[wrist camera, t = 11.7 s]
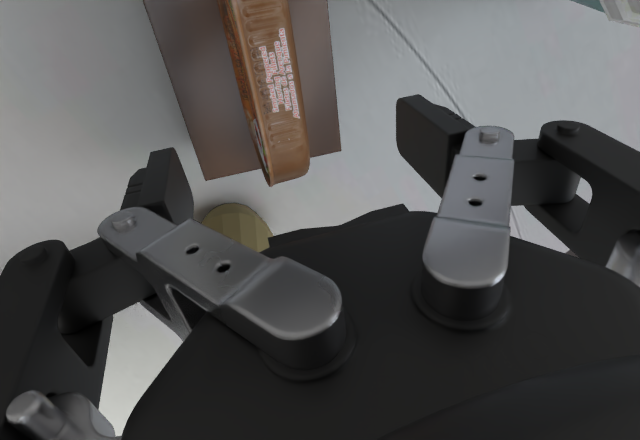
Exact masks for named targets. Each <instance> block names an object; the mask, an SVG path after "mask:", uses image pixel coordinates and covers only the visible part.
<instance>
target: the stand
mask: <svg viewBox="0 0 640 440" xmlns="http://www.w3.org/2000/svg"><path fill="white" fill-rule="evenodd" d="M143 2H144V5H145V8H146V11H147V14H148V17H149V20H150V22H151V25H152V28H153V31H154V34H155V37H156V40H157V43H158V46H159V48H160V51H161V54H162V57H163V60H164V63H165V66H166V69H167V72H168V74H169V77H170V80H171V83H172V86H173V89H174V92H175V95H176V97H177V100H178V103H179V106H180V109H181V112H182V115H183V118H184V121H185V123H186V126H187V129H188V132H189V135H190V138H191V141H192V144H193V147H194V149H195V152H196V155H197V158H198V161H199V164H200V167H201V170H202V172H203V175H204V178H205V180H206V181H207V180H211V179H216V178H220V177H225V176H230V175H234V174H239V173H243V172H248V171H252V170H257V169H261V165H260V163H259V160H258V157H257V154H256V151H255V147H254V144H253V141H252V138H251V134H250V131H249V127H248V124H247V119H246V116H245V112H244V109H243V105H242V101H241V97H240V93H239V89H238V85H237V81H236V77H235V72H234V68H233V64H232V60H231V56H230V51H229V48H228V44H227V39H226V35H225V31H224V27H223V23H222V19H221V15H220V11H219V6H218V3H217V0H143ZM288 4H289V10H290V17H291V23H292V29H293V36H294V42H295V48H296V55H297V62H298V69H299V75H300V82H301V89H302V96H303V102H304V110H305V117H306V125H307V131H308V140H309V152H310V158H311V157H316V156H320V155H325V154H329V153H334V152H338V151H341V142H340V131H339V121H338V110H337V99H336V89H335V78H334V67H333V57H332V46H331V35H330V25H329V14H328V3H327V0H288Z"/></svg>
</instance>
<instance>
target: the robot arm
mask: <svg viewBox="0 0 640 440" xmlns="http://www.w3.org/2000/svg"><path fill="white" fill-rule="evenodd" d="M396 141H397V147H398V150H399V153H400V154H401V156H402V157H403V158H404V159H405V160H406V161H407V162H408V163H409V164H410V165H411V166H412V167H413V168H414V170H415V171H416V172H417V173H418V174H419V175H420V176H421V177H422V178H423V179H424V180H425V181H426V182H427V183H428V184H429V185H430V186H431V187H432V189H433V190H434V191H435V192H436V193H437V194H438V195H439V196H440V197H441V198H442V200H441V203H440V207H439V210H438V213H434V212H425V211H410V212H409V211H408V209H407V208H406V207H405V205H404V204H399V205H395V206H391V207H387V208H383V209H379V210H375V211H371V212H369V213H367V214H364V215H362V216H360V217H358V218H356V219H353V220H351V221H349V222H347V223H344V224H342V225H339V226H331V227H319V228H308V229H300V230H296V231H292V232H288V233H284V234H280V235H276V236H272V237H268V243H269V248H267V249H265V250H263V251H261V252H257V251H255V250H253V249H251V248H249V247H247V246H245V245H243V244H241V243H239V242H237V241H235V240H233V239H231V238H229V237H227V236H225V235H223V234H221V233H219V232H217V231H215V230H213V229H211V228H209V227H207V226H205V225H203V224H201V223H199V222H197V221H195V220H193V210H194V201H193V196H192V192H191V189H190V186H189V183H188V181H187V178H186V175H185V173H184V170H183V168H182V165H181V162H180V160H179V157H178V155H177V152H176V150H175V149H174V148H173V147H171V148H167V149H162V150H158V151H153V152H151V153H150V156H149V160H148V164H147V168H142V169H139V170H138V171H137V172H136V173H135V174H134V175H133V176H132V177H131V178H130V180H129V184H128V188H127V190H126V193H125V194H126V195H125V196H124V199H123V203H122V206H121V209H120V211H118V212H116V213H114V214H112V215H110V216H109V217H107V218H106V219H105V220H104V221H102V223H101V224H100V225H99V227H98V234H99V236H100V237H99V238H98V239H96V240H94V241H92V242H89V243H87V244H85V245H82V246H80V247H77V248H75V249H73V250H70V251H69V250H68V248H67V247H66V245H65V244H64V243H63V242H62V241H60V240H47V241H43V242H39V243H36V244H34V245H32V246H29V247H27V248H25V249H24V250H22V251H20V252H19V253H18V254H16V255H15V256H14V257H13V258H11V259H10V261H9V262H8V263H7V264H6V266H5V268H4V270H3V272H2V273H1V275H0V440H640V152H639V151H637V150H635V149H633V148H631V147H629V146H627V145H625V144H623V143H621V142H619V141H617V140H615V139H614V138H612V137H610V136H608V135H606V134H604V133H602V132H600V131H598V130H596V129H594V128H592V127H590V126H588V125H586V124H583V123H580V122H575V121H552V122H548V123H546V124H544V125H543V126H542V127H541V131H540V135H539V139H526V140H514V134H513V133H512V132H511V131H510V130H508V129H505V128H502V127H497V126H479V127H475V126H474V125H472V124H471V123H469V122H467V121H466V120H464V119H463V118H462V119H461V117H460V116H458V115H457V114H455V113H454V112H452V111H451V110H449V109H448V108H446V107H443V106H439V105H436V104H433V103H431V102H430V101H428V100H427V99H425V98H424V97H422V96H421V95H419V94H417V95H413V96H408V97H403V98H399V99H398V100H397V104H396ZM581 177H582V178H583V179H585V180H586V181H587V182H588V183H589V184H590V186H591V188H592V199H591V202H590V204H589V203H588V202H586V201H585V200H583V199H582V198H581V197H579V196H578V195H577V194H575V193H576V190H577V187H578V184H579V181H580V178H581ZM517 205H524V207H525V208H526V209H527V210H528V211H529V212H530V213H531V214H532V215H533V216H534V217H535V218H536V219H537V220H539V221H540V222H541V223H542V224H543V225H544V226H545V227H546V228H547V229H548V230H550V231H551V232H552V233H553V234H554V235H555V236H556V237H557V238H558V239H559V240H560V241H562V242H563V243H564V244H565V245H566V246H567V247H568V248H569V249H570V250H572V251H573V252H574V253H575V254H576V255H577V256H578V257H579V258H577V257H574V256H571V255H568V254H565V253H562V252H559V251H556V250H552V249H549V248H546V247H543V246H540V245H537V244H534V243H531V242H528V241H525V240H521V239H518V238H515V237H512V236H510V227H509V221H510V209H511V206H517ZM137 302H140V304H141V305H142V306H143V307H145V308H146V309H147V310H148V311H149V312H151V313H152V314H153V315H154V316H156V317H157V318H158V319H159V320H160V321H162V322H163V323H164V324H165V325H167V326H168V327H169V328H170V329H171V330H173V331H174V332H175V333H176V334H177V335H178V336H179V337H180V338H181V339H182V341H183V343H182V344H181V346H180V347H179V348H178V349H177V351H176V352H175V353H174V355H173V356H172V357H171V359H170V360H169V361H168V363H167V364H166V365H165V367H164V368H163V369H162V371H161V372H160V373H159V374H158V376H157V377H156V378H155V380H154V381H153V382H152V384H151V385H150V386H149V388H148V389H147V390H146V392H145V393H144V394H143V396H142V397H141V398H140V400H139V401H138V403H137V404H136V406H135V407H134V409H133V411H132V413H131V415H130V416H129V418H128V420H127V423H126V425H125V428H124V430H123V433H122V436H117V437H115V431H114V428H113V426H112V424H111V423H110V422H109V421H108V420H107V419H106V418H105V417H104V416H103V415H102V414H101V413H100V411H99V410H98V408H99V402H100V396H101V390H102V383H103V377H104V371H105V365H106V359H107V353H108V346H109V340H110V334H111V328H112V322H113V314H115V313H117V312H119V311H121V310H123V309H125V308H127V307H129V306H131V305H133V304H135V303H137Z"/></svg>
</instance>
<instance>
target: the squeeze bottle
mask: <svg viewBox="0 0 640 440" xmlns="http://www.w3.org/2000/svg"><path fill="white" fill-rule="evenodd" d="M201 224H203V225H205V226H207V227H209V228H211V229H213V230H215V231H217V232H219V233H221V234H223V235H225V236H227V237H229V238H231V239H233V240H235V241H237V242H239V243H241V244H243V245H245V246H247V247H249V248H251V249H253V250H255V251H257V252H261V251H263V250H265V249H267V248H269V243H268V237H272V236H273V234H272V233H271V231H270V229H269V227H268V226H267V224H266V223H265V222H264V221H263V220H262V219H261V218H260V217H259V216H258V215H257V214H256V213H255V212H254V211H253V210H252V209H250V208H249V207H247V206H245V205H241V204H237V203H230V204H223V205H220V206H218V207H216V208H214V209H212V210H211V211H210V212H209V214H208V215H207V216H206V217H205V218H204V220H203V221H202V223H201Z"/></svg>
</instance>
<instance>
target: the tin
mask: <svg viewBox="0 0 640 440" xmlns="http://www.w3.org/2000/svg"><path fill="white" fill-rule="evenodd" d="M217 3H218V6H219V11H220V15H221V19H222V23H223V27H224V31H225V35H226V39H227V44H228V48H229V51H230V56H231V60H232V64H233V68H234V72H235V77H236V81H237V85H238V89H239V93H240V97H241V101H242V105H243V109H244V112H245V116H246V119H247V124H248V127H249V131H250V134H251V138H252V141H253V144H254V147H255V151H256V154H257V157H258V160H259V163H260V165H261V168H262V171H263V174H264V177H265V179H266V182H267V183H268V185H269V187H272V186H273V185H274V184H277V183H281V182H284V181H288V180H292V179H295V178H298V177H301V176H304V175H305V174H306V173H307V171H308V169H309V164H310V152H309V140H308V131H307V125H306V117H305V110H304V102H303V96H302V89H301V82H300V75H299V69H298V62H297V55H296V48H295V42H294V36H293V29H292V23H291V17H290V10H289V4H288V0H217Z"/></svg>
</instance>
